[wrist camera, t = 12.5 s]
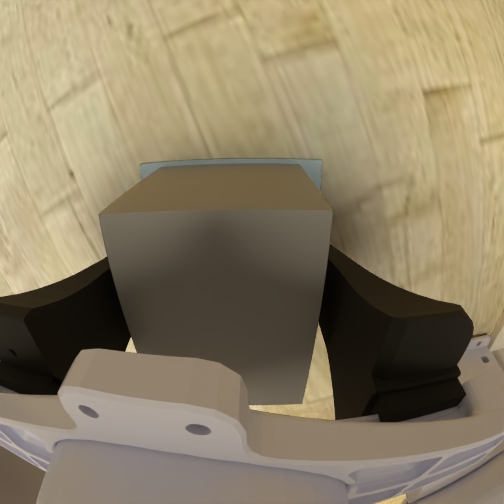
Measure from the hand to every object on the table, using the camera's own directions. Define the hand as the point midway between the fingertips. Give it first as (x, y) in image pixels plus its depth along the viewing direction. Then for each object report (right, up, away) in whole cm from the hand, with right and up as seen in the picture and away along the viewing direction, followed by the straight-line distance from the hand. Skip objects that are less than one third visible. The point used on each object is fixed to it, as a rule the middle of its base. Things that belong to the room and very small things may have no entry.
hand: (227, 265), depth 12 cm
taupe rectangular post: (0, +1, +2) cm, 2 cm away
